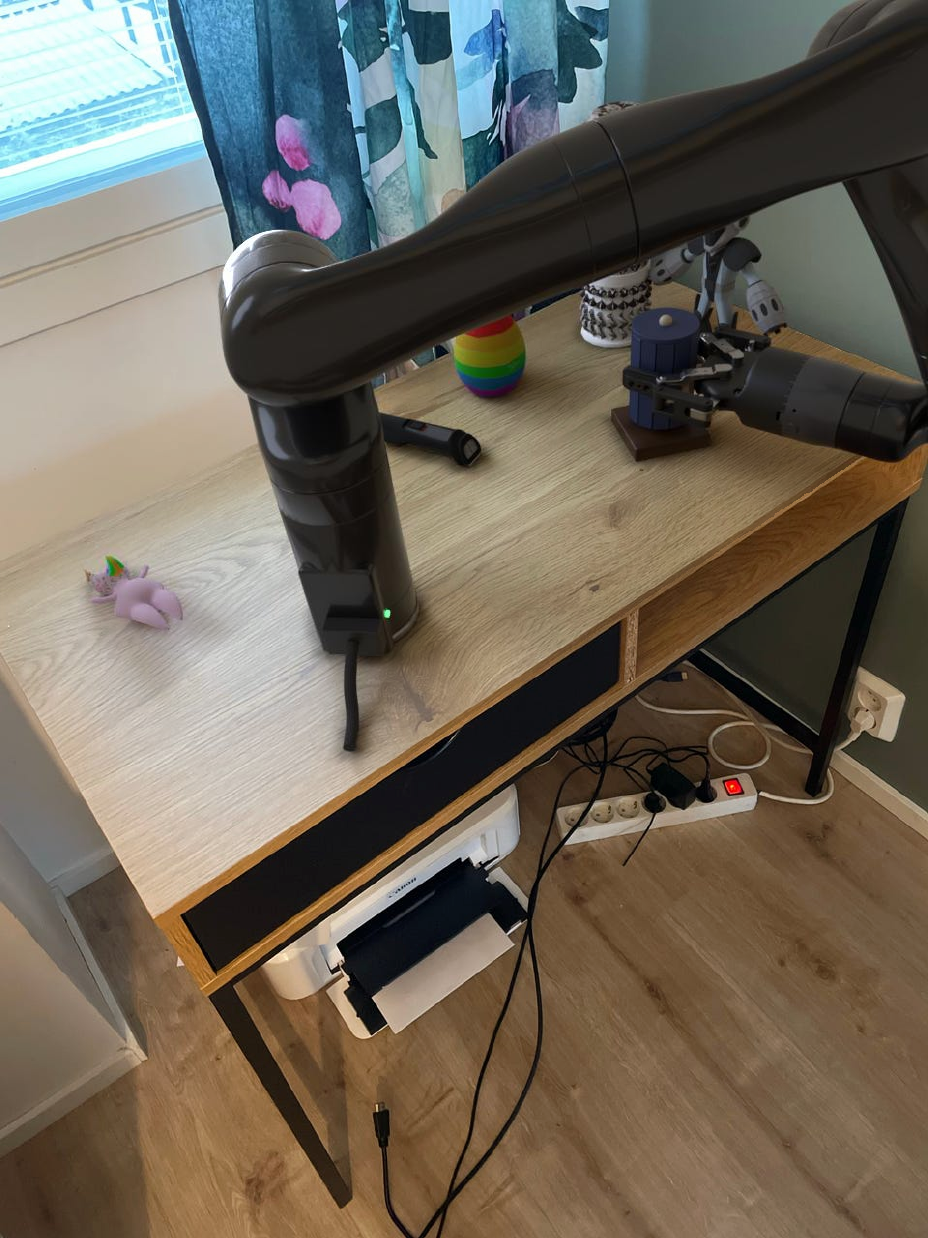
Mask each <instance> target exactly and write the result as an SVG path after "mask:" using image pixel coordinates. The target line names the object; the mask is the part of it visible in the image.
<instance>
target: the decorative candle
mask: <svg viewBox="0 0 928 1238" xmlns="http://www.w3.org/2000/svg"><path fill="white" fill-rule="evenodd" d="M640 104H641V103H638V102H636V101H635V102H634V101H625V100H624V101H614V102H607V103H604V104H602V105H599V106H597V107H596V108H594V109H593V110H592V111H591V113H590V114H589V116H588V118H587V119H586V120H585V121H583V122H582V123H581V124H583V123H585V122H588V121H590V120H593V119H595V118H598V117H601V116H603V115H606V114H610V113H613V112H616V111H619V110H622V109H626V108H629V107H632V106H636V105H640ZM650 268H651V259H649V260H647V261H645V262H643V263H641V264H638V265H636V266H633V267H631V268H629V269H626V270H624V271H621V272H619V273H616V274H614V275H611V276H609V277H607V278H604V279H602V280H599V281H597V282H594V283H592V284H589V285H586V286H583V287H580V290H581V291H580V292H579V296H580V297H581V302H580V305H579V312H580V314H581V316H580V318H579V324H580V325H581V329H580V335H581V336H582V338H583V339H584V341H586V342H588V343H589V344H591V345H594V346H597V347H602V348H613V349H615V348H617V349H618V348H623V347H629V346H630V347H631V337H632V322H633V320H634V319H635V317H636V316H638V315H639V314H641V313H643V312H645V311H648V310H651V309H652V307H651V306H652V304H653V302H652V301H651V300H650V298H651V296H652V291H653V287H652V284H653V281H652V280H651V278H650V276H649V275H648V274H649V270H650Z"/></svg>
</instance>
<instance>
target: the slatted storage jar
mask: <svg viewBox="0 0 928 1238" xmlns="http://www.w3.org/2000/svg"><path fill="white" fill-rule="evenodd" d="M693 313H694V312H691V311H689V310H686V309H683V308H679V307H656V308H651V310H648V311H645V312H643V313H641V314H639V315H638V316H636V317H635V319H634V320H633V322H632V337H631V345H630V365H632V366H636V367H639V368H643V369H647V370H651V371H654V372H658V373H660V375H668V374H680V373H681V372H682V371H683V370H684V369H689V368H697V364H698V363H697V355H698V344H699V333H700V330H699V327H700V322H699V319H698V318H697V316H696V315H694V314H693ZM669 388H673V389H676V390H680V388H681V385H669ZM690 393H691V394H695V390H694V380H693V381H692V382H691V384H690ZM628 405H629V416H630V418H631V419H632V420H633V421H634V422H635V423H636V424H638V425H639V426H642V427H645V428H648V429H652V428H653V430H667V429H672V428H675V427H678V426H681V425H683V424H685V423H684V422H681V421H677V420H674V419H670V418H667V417H664V416H660V415H657V414H654V413H653V412H652V406H653V397H652V396H649V395H645V394H642V393H638V392H635V391H631V390H629V403H628ZM666 405H668V406H671V407H675V403H666Z"/></svg>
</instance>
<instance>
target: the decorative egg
mask: <svg viewBox="0 0 928 1238" xmlns="http://www.w3.org/2000/svg"><path fill="white" fill-rule="evenodd" d="M453 356H454V357H453V359H454V364H455V369H456V372H457V374H458V377H459V379H460V380H461V382H462V383H463V385H464V386H465V387H466V389H468V390H469V391H470V392H471V393H473V394H474V395H476V396H479V397H485V398H495V397H499V396H503V395H505V394H508V393H510V392H511V391H513V389H515V388H516V386H517V385H518V383H519V382H520V380H521V379H522V376H523V373H524V371H525V368H526V357H527V353H526V345H525V340H524V336H523V334H522V330H521V329H520V327H519V324H518V323H517V321H516V320H515V318H514V317H513V315H509V316H507V317H504V318H502V319H499V320H497V321H495V322H492V323H490V324H487V325H485V326H482V327H479V328H477V329H474V330H471V331H469V332H467V333H464V334H462V335H459V336H457V337H455V339H454V348H453Z"/></svg>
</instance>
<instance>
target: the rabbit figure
mask: <svg viewBox="0 0 928 1238" xmlns="http://www.w3.org/2000/svg"><path fill="white" fill-rule="evenodd" d="M105 561H106V564H107V565H106V567H105V569H104V570H101V571H99V572H98V573H92V572H90V571H87V570H86V569H85V568H83V571H84V572H85V576H86V581H87V584H89V582H90V584H91V586H92V588H93V589H94V591H95V592H97V593H99V594H101V595H103V596H102V597H92V598H91V599H90V603H91V604H93V605H94V604H101V603H106V602H107V603H108V602H111V601H115V603H114V608H113V614H114V616H115V617H116V618H119V619H125V620H126V619H127V620H132V621H137V622H139V623H143V624H145V625H148V626H151V627H153V628H156V629H160V630H163V631H168V630H170V626H169V625H168V623H167V621H166V620H165V617H163V615H162V614H161V613H160V611H161V612H163V613H164V614H167V615H168V616H170V617H172V618H174V619H175V620H178V621H179V622H182V621H183V619H184V611H183V607H182V604H181V603H182V602H181V600H180V599H179V597H178V595H176V593H175V592H173V590H172V591H171V590H169V589H165V586H164V583H162V582H161V581H158V580H153V579H150V578H147V577H146V575H147V573H148V571H149V569H150V568H149V565H147V564H144V565H143V566H142V568H141V572H140V574H139V575H138V576H137V577H136V578H132V579H131V578H130V576H131V574H130V570H129V568H128V567H127V566H126V565H125V564H123V563H122V562H121V561H120V560H118V559H117V558H115V557H114V556H111V555H105ZM106 595H107V596H106Z"/></svg>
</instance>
